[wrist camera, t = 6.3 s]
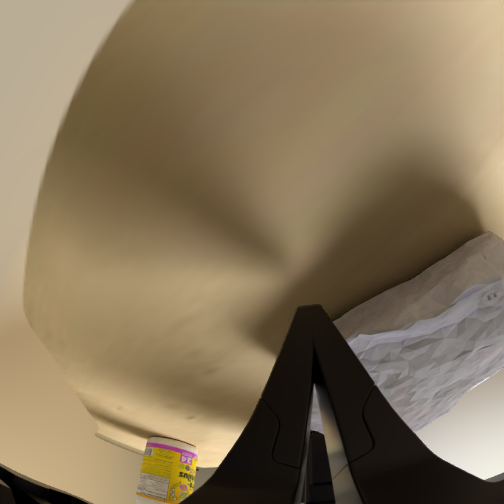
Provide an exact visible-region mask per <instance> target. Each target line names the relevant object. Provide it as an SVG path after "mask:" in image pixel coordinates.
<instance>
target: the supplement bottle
mask: <svg viewBox="0 0 504 504" xmlns="http://www.w3.org/2000/svg"><path fill="white" fill-rule="evenodd" d="M197 458H198V450H197V449H196V448H195V447H193V446H192V445H189V444H187V443H184V442H181V441H177V440H173V439H168V438H162V437H151V438H149V439H148V441H147V444H146V449H145V453H144V458H143V463H142V468H141V473H140V478H139V483H138V488H137V493H136V502H137V504H178V503H180V502H181V501H182V500H184V499H185V498H186V497H188V496H189V495H190V494H192V493H193V486H194V479H195V472H196V465H197Z"/></svg>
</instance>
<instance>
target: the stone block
mask: <svg viewBox="0 0 504 504" xmlns="http://www.w3.org/2000/svg"><path fill="white" fill-rule="evenodd" d="M332 322H333V323H334V324H335V326H336V327H337V329H338V330H339V332H340V333H341V334H342V336H343V337H344V339H345V340H346V342H347V343H348V344H349V346H350V347H351V349H352V350H353V352H354V353H355V355H356V356H357V357H358V359H359V360H360V362H361V363H362V365H363V366H364V368H365V369H366V371H367V372H368V373H369V375H370V376H371V378H372V379H373V381H374V382H375V385H377V386H378V388H379V389H380V391H381V392H382V394H383V395H384V397H385V398H386V399H387V401H388V402H389V404H390V405H391V406H392V408H393V409H394V410H395V411H396V412H397V414H398V415H399V416H400V417H401V418H402V420H403V421H404V422H405V423H406V424H407V425H408V426H409V428H410V429H411V430H412V431H413V432H414V433H415V432H417V431H419V430H421V429H422V428H424V427H425V426H427V425H428V424H429V423H431V422H432V421H434V420H435V419H436V418H438V417H440V416H442V415H444V414H445V413H447V412H448V411H450V409H451V408H452V407H453V406H454V405H455V404H456V403H457V402H458V400H459V399H460V398H461V397H462V396H463V395H464V394H465V393H466V392H468V391H469V390H470V389H471V388H472V387H473V386H475V385H476V384H478V383H480V382H481V381H483V380H484V379H486V378H488V377H490V376H492V375H493V374H494V373H496V372H497V371H498V370H500V369H501V368H504V242H503V241H502V240H501V239H500V238H499V237H498V236H496V235H494V234H493V233H491V232H490V231H488V232H486V233H484V234H482V235H480V236H478V237H476V238H474V239H472V240H469V241H468V242H466V243H465V244H464V245H463V246H461V247H460V248H458V249H457V250H455V251H454V252H452V253H451V254H450V255H448V256H446V257H445V258H443V259H441V260H440V261H438V262H436V263H435V264H433V265H432V266H430V267H429V268H427V269H426V270H425V271H423V272H422V273H421V274H419V275H418V276H416V277H415V278H413V279H411V280H409V281H406V282H403V283H401V284H399V285H397V286H395V287H393V288H391V289H388V290H386V291H384V292H382V293H381V294H379V295H377V296H375V297H373V298H371V299H370V300H368V301H366V302H364V303H362V304H360V305H358V306H356V307H355V308H353V309H351V310H350V311H348V312H347V313H345V314H344V315H343V316H342V317H341V318H339V319H336V320H334V321H332ZM310 429H311V430H314V431H318V432H320V433H322V434H324V431H323V425H322V420H321V415H320V410H319V405H318V399H317V394H316V389H315V385H314V394H313V406H312V417H311V428H310Z"/></svg>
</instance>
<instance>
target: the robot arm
mask: <svg viewBox="0 0 504 504" xmlns="http://www.w3.org/2000/svg"><path fill="white" fill-rule="evenodd" d="M314 385H315V389H316V394H317V399H318V405H319V410H320V415H321V420H322V425H323V431H324V434H322V433H319V434H310V428H311V417H312V406H313V394H314ZM300 503H305V504H504V473H501V474H499V475H497V476H494V477H491V478H489V479H486V480H482V479H480V478H478V477H476V476H474V475H472V474H470V473H468V472H466V471H464V470H462V469H460V468H458V467H456V466H454V465H452V464H450V463H448V462H446V461H445V460H443V459H441V458H439V457H438V456H437V455H435V454H434V453H433V452H432V451H431V450H429V449H428V448H427V447H426V445H425V444H424V443H423V442H422V441H421V440H420V439H419V438H418V437H417V435H416V434H415V433H414V432H413V431H412V430H411V429H410V428H409V426H408V425H407V424H406V423H405V422H404V421H403V420H402V418H401V417H400V416H399V415H398V414H397V412H396V411H395V410H394V409H393V408H392V406H391V405H390V404H389V402H388V401H387V399H386V398H385V397H384V395H383V394H382V392H381V391H380V389H379V388H378V386H377V385H375V382H374V381H373V379H372V378H371V376H370V375H369V373H368V372H367V371H366V369H365V368H364V366H363V365H362V363H361V362H360V360H359V359H358V357H357V356H356V355H355V353H354V352H353V350H352V349H351V347H350V346H349V344H348V343H347V342H346V340H345V339H344V337H343V336H342V334H341V333H340V332H339V330H338V329H337V327H336V326H335V324H334V323H333V322H332V320H331V319H330V317H329V316H328V315H327V313H326V312H325V310H324V309H323V308H322V306H321V305H320V304H313V305H304V306H298V307H297V309H296V311H295V314H294V317H293V319H292V322H291V324H290V327H289V330H288V332H287V335H286V337H285V340H284V342H283V345H282V347H281V350H280V352H279V355H278V357H277V359H276V362H275V364H274V367H273V369H272V371H271V374H270V376H269V378H268V381H267V383H266V385H265V388H264V390H263V392H262V395H261V398H260V399H259V401H258V403H257V405H256V408H255V410H254V412H253V414H252V416H251V418H250V420H249V422H248V423H247V425H246V427H245V428H244V430H243V432H242V433H241V435H240V437H239V438H238V440H237V441H236V443H235V444H234V446H233V447H232V448H231V450H230V451H229V453H228V454H227V456H226V457H225V458H224V460H223V461H222V463H221V464H220V465H219V467H218V468H217V469H216V471H215V472H214V473H213V474H212V476H211V477H210V478H209V479H208V480H207V481H206V482H205V483H204V484H203V485H202V486H201V487H199V488H198V489H197V490H195V491H194V492H193V493H192V494H190V495H189V496H188V497H186V498H185V499H184V500H182V501H181V502H180V503H178V504H300ZM0 504H93V503H90V502H88V501H86V500H84V499H82V498H80V497H77V496H75V495H72V494H70V493H68V492H65V491H62V490H60V489H57V488H54V487H51V486H49V485H46V484H43V483H41V482H38V481H36V480H33V479H31V478H29V477H27V476H25V475H22V474H20V473H18V472H16V471H14V470H12V469H10V468H8V467H6V466H4V465H2V464H0Z"/></svg>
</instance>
